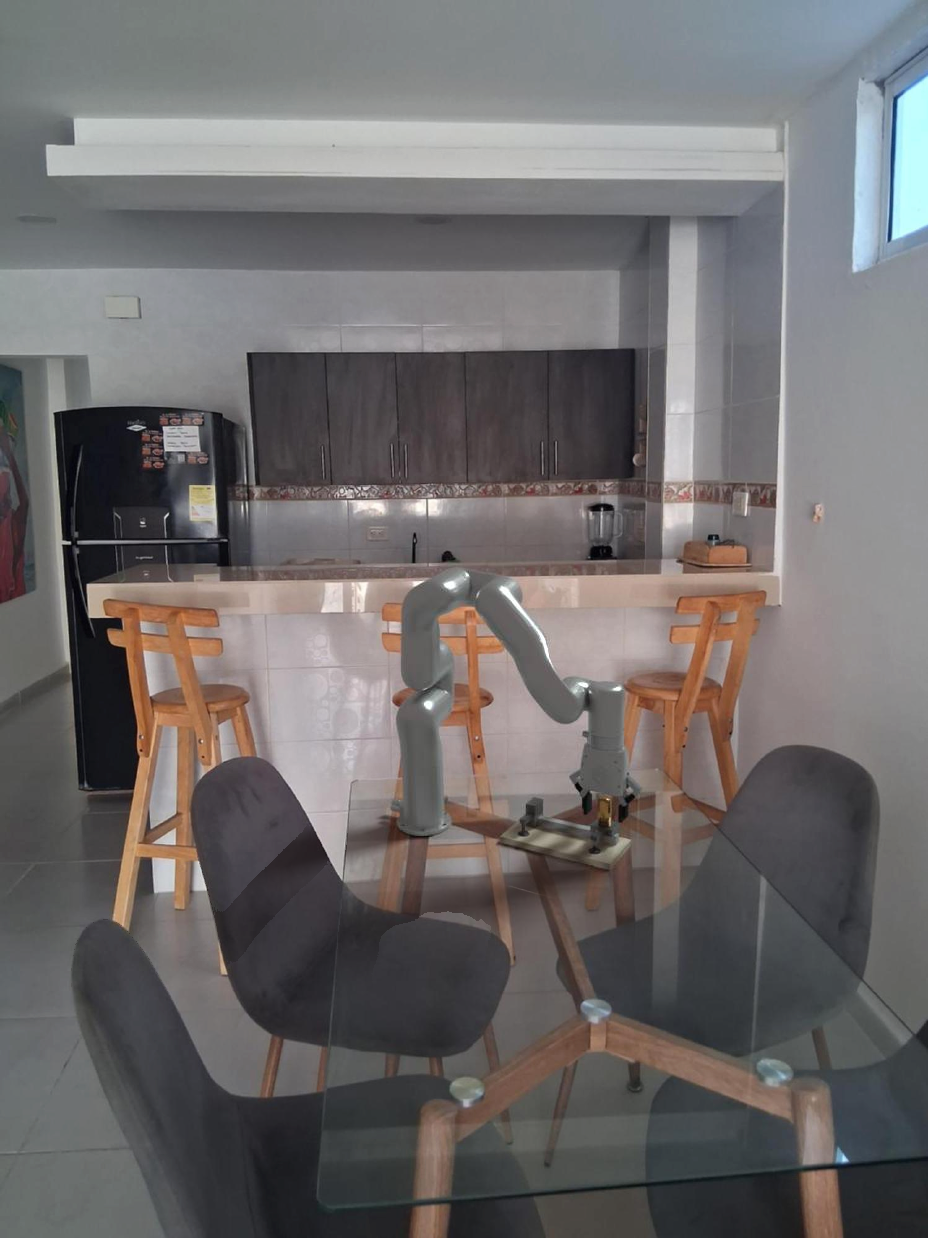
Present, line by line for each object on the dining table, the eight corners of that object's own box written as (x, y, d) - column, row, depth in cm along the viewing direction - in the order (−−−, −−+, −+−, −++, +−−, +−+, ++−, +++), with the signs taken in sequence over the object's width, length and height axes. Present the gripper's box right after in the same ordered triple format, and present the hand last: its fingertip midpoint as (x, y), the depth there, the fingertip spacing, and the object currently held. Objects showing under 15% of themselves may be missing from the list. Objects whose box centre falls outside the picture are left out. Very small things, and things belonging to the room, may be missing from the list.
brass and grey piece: (583, 846, 203) (583, 807, 201) (597, 831, 210) (597, 792, 207) (604, 852, 201) (605, 811, 198) (618, 836, 207) (619, 797, 205)
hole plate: (500, 842, 210) (499, 813, 208) (524, 820, 220) (524, 793, 218) (610, 870, 197) (610, 839, 196) (631, 846, 207) (631, 816, 206)
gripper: (561, 738, 202) (560, 815, 207) (638, 753, 194) (636, 832, 198) (575, 727, 209) (575, 801, 213) (651, 741, 200) (649, 818, 204)
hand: (604, 815), depth 205 cm, fingers open, 7 cm apart
